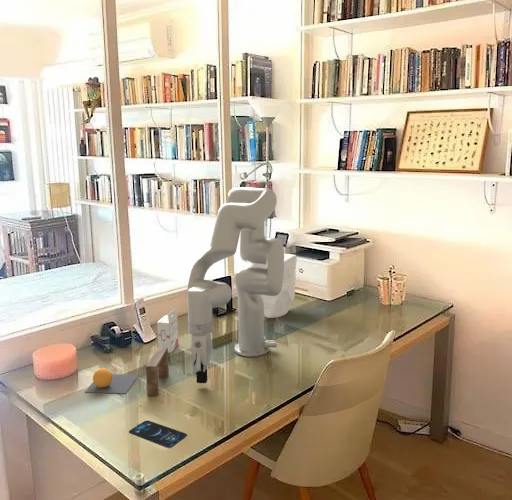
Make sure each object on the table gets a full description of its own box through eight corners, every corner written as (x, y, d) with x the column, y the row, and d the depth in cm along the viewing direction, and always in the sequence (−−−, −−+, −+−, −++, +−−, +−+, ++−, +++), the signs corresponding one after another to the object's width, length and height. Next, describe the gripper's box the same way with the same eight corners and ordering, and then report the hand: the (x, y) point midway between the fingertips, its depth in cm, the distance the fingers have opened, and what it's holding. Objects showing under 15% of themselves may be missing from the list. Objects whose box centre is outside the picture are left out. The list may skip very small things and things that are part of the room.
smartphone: (146, 419, 151) (188, 434, 143) (146, 421, 151) (188, 436, 143) (126, 432, 144) (169, 448, 136) (126, 434, 144) (169, 450, 136)
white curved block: (279, 321, 229) (280, 262, 223) (231, 309, 245) (230, 254, 240) (307, 309, 245) (307, 254, 240) (260, 298, 261) (259, 246, 256)
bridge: (168, 374, 179) (167, 347, 177) (157, 396, 164) (155, 366, 162) (159, 374, 179) (158, 347, 177) (147, 396, 164) (145, 366, 162)
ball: (97, 384, 173) (116, 382, 173) (91, 391, 167) (110, 389, 167) (94, 366, 172) (113, 364, 172) (88, 373, 166) (107, 371, 166)
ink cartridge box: (166, 343, 206) (164, 306, 202) (178, 344, 205) (177, 307, 201) (157, 352, 197) (156, 314, 194) (170, 353, 196) (169, 314, 193)
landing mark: (138, 375, 178) (138, 374, 178) (125, 393, 166) (125, 393, 166) (99, 374, 179) (99, 373, 179) (84, 392, 167) (84, 391, 167)
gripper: (208, 335, 159) (210, 393, 162) (216, 318, 173) (217, 372, 177) (183, 335, 159) (185, 392, 163) (193, 318, 174) (194, 371, 178)
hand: (202, 381), depth 170 cm, fingers closed
